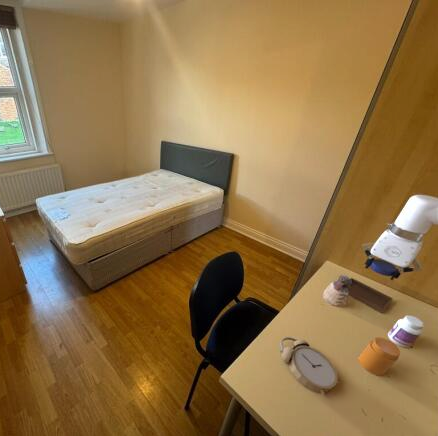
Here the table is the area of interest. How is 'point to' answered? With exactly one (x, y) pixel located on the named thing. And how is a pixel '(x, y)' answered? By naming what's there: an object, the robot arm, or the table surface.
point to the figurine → (338, 291)
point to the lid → (383, 267)
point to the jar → (379, 356)
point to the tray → (369, 296)
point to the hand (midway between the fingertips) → (379, 272)
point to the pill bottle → (406, 331)
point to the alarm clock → (309, 366)
